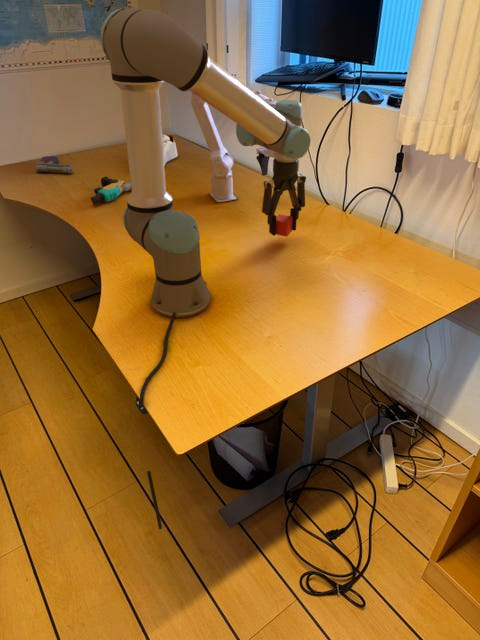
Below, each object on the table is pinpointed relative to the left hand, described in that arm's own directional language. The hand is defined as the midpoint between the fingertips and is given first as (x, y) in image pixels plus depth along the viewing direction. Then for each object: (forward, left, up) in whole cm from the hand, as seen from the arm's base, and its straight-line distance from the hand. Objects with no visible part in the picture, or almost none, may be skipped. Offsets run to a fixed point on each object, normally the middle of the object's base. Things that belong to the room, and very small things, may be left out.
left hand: (282, 231), depth 152 cm
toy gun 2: (+36, +68, -4) cm, 78 cm away
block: (0, 0, 0) cm, 0 cm away
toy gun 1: (+66, +100, -4) cm, 120 cm away
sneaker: (+75, +57, -4) cm, 94 cm away
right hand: (+33, +4, +6) cm, 34 cm away
